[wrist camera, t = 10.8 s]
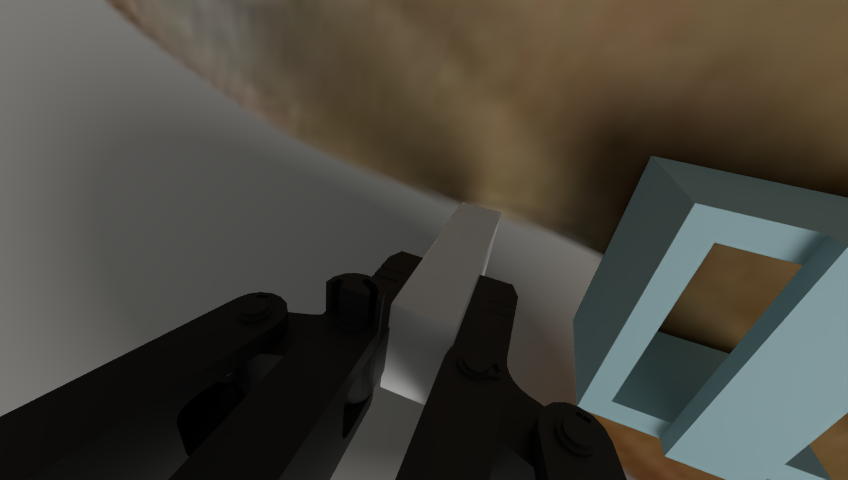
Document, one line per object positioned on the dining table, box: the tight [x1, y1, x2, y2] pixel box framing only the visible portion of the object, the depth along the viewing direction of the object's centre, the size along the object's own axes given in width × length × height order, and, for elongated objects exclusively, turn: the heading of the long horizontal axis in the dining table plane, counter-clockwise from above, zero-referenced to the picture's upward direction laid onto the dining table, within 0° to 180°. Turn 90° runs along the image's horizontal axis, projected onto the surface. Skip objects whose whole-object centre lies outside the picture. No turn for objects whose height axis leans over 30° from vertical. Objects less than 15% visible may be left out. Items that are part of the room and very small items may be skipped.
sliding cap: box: [573, 156, 848, 480], centre depth 11 cm, size 7×8×5 cm
